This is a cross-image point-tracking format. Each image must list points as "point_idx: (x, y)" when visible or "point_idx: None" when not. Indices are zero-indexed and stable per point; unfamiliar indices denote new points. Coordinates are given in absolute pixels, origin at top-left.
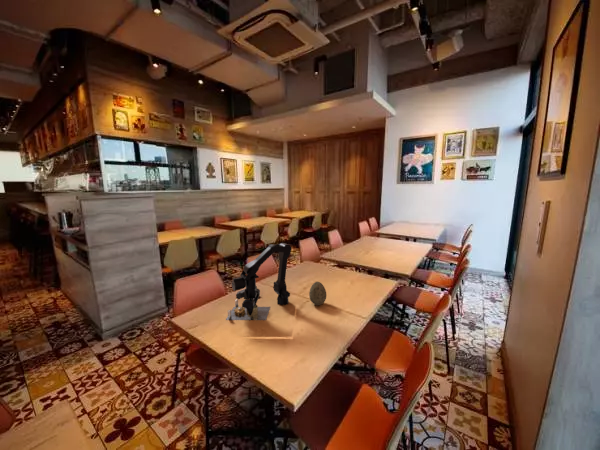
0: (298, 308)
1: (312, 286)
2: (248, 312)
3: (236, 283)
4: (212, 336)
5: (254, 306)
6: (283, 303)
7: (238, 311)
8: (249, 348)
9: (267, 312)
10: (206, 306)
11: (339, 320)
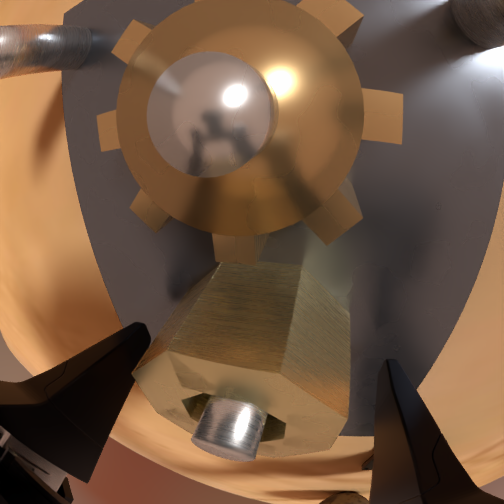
0: (329, 477)
1: None
2: (93, 348)
3: None
4: None
5: (265, 434)
6: (372, 476)
7: (114, 133)
8: (6, 295)
9: None
10: None
11: (237, 488)
